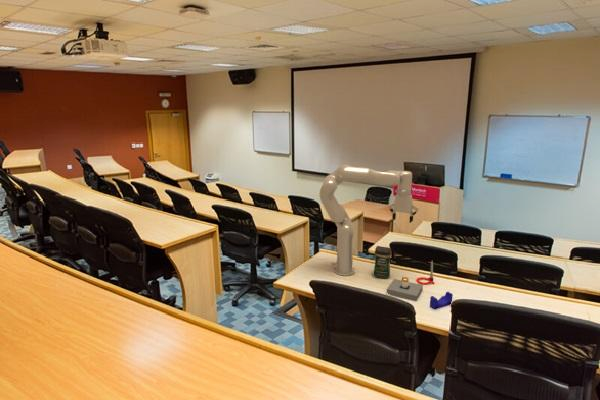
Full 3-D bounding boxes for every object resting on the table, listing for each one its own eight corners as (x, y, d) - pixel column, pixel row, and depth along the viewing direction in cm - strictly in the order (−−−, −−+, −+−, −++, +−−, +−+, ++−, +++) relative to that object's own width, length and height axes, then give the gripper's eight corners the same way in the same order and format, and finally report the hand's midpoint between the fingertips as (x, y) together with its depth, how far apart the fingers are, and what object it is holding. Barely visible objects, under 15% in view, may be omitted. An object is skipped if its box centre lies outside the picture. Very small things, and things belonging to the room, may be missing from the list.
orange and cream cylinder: (400, 292, 204) (401, 279, 202) (401, 289, 207) (402, 276, 205) (406, 294, 202) (407, 280, 200) (408, 291, 205) (409, 278, 203)
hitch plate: (386, 293, 202) (386, 288, 201) (393, 283, 214) (394, 278, 213) (416, 301, 194) (416, 296, 194) (422, 289, 206) (422, 285, 206)
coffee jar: (372, 277, 222) (373, 248, 217) (375, 272, 229) (376, 243, 224) (388, 280, 218) (390, 250, 213) (391, 274, 225) (392, 245, 220)
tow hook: (418, 285, 212) (434, 285, 212) (418, 264, 209) (435, 264, 209) (414, 279, 220) (430, 278, 220) (415, 258, 217) (431, 258, 217)
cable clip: (444, 300, 195) (445, 290, 194) (451, 304, 191) (452, 294, 190) (427, 305, 190) (428, 295, 189) (433, 310, 186) (434, 299, 185)
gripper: (387, 192, 216) (386, 220, 220) (418, 195, 207) (415, 224, 212) (391, 189, 222) (389, 217, 226) (421, 192, 214) (418, 221, 218)
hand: (402, 220), depth 219 cm, fingers open, 9 cm apart
